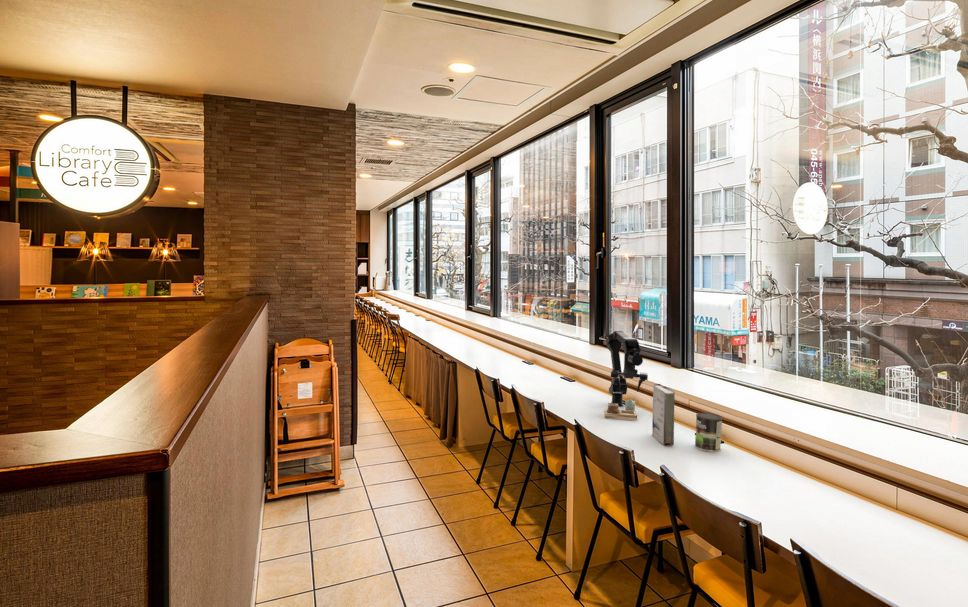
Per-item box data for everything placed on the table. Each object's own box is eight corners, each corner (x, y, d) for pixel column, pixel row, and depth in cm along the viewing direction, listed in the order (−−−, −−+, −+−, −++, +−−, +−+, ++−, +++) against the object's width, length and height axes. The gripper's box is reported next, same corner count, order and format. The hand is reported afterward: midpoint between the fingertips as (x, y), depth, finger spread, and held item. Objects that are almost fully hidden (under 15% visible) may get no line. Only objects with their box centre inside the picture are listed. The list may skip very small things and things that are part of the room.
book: (650, 433, 237) (652, 382, 236) (662, 434, 237) (664, 383, 236) (661, 446, 221) (663, 391, 219) (674, 446, 221) (676, 391, 219)
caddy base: (604, 413, 270) (604, 408, 270) (635, 415, 267) (635, 411, 267) (604, 418, 262) (604, 413, 261) (637, 420, 258) (637, 415, 258)
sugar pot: (624, 410, 276) (625, 398, 275) (634, 411, 275) (634, 399, 274) (625, 413, 271) (625, 400, 271) (635, 414, 270) (635, 401, 270)
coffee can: (705, 452, 213) (706, 419, 212) (689, 444, 223) (691, 413, 223) (726, 451, 216) (727, 418, 215) (710, 443, 226) (711, 411, 225)
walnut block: (617, 413, 267) (617, 403, 267) (618, 415, 262) (618, 406, 262) (607, 412, 268) (608, 402, 268) (608, 414, 263) (608, 405, 263)
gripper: (610, 363, 265) (609, 392, 267) (648, 366, 260) (646, 396, 261) (612, 359, 276) (611, 388, 277) (648, 362, 270) (647, 391, 271)
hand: (628, 391), depth 271 cm, fingers open, 9 cm apart
